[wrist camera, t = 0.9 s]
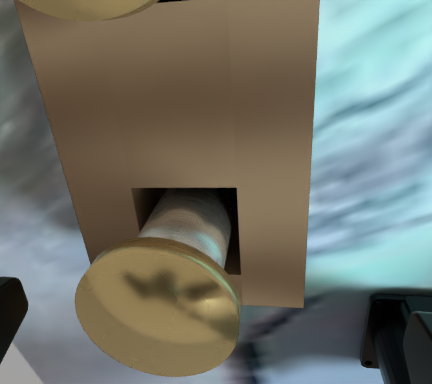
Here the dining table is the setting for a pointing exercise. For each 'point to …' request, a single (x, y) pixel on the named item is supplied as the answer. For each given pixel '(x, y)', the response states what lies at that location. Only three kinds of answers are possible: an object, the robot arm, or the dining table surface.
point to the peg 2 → (166, 289)
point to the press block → (188, 123)
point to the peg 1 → (89, 8)
